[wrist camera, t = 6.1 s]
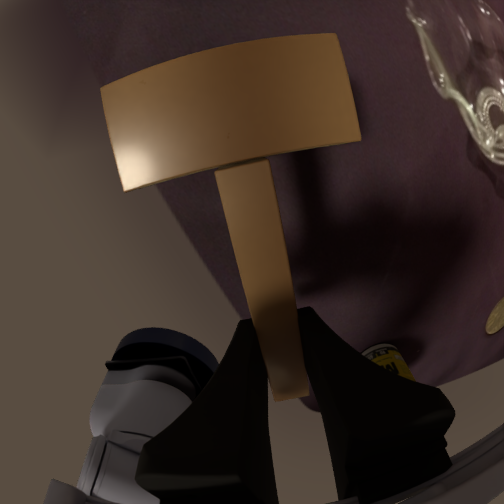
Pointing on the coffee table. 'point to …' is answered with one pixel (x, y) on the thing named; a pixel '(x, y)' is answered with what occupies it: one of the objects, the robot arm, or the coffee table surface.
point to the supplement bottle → (389, 359)
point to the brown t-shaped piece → (240, 155)
